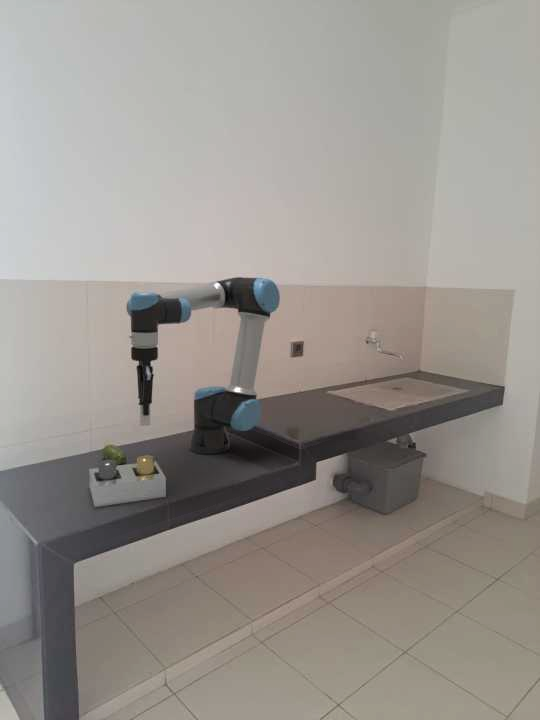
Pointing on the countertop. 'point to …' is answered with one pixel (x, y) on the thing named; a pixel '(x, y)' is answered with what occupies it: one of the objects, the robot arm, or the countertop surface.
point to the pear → (114, 454)
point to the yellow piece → (145, 465)
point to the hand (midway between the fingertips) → (145, 424)
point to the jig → (124, 484)
